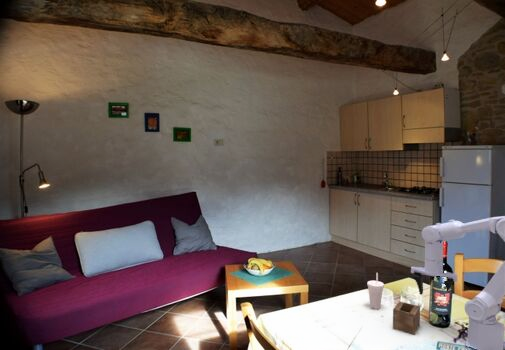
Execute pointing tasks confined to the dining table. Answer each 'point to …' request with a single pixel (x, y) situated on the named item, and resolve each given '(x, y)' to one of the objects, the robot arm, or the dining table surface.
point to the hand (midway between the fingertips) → (433, 296)
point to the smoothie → (375, 292)
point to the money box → (406, 317)
